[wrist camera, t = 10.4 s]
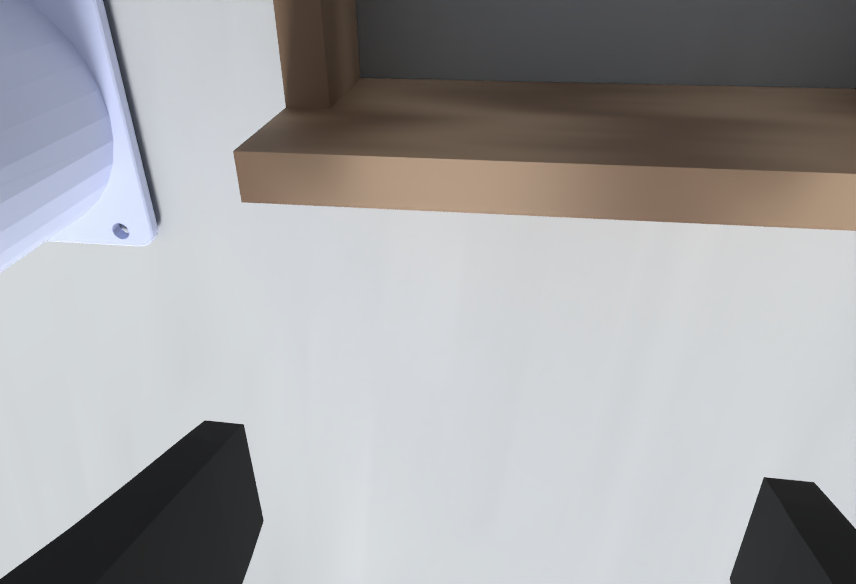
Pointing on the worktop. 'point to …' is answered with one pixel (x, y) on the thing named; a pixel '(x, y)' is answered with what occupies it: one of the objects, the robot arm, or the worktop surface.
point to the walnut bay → (544, 142)
